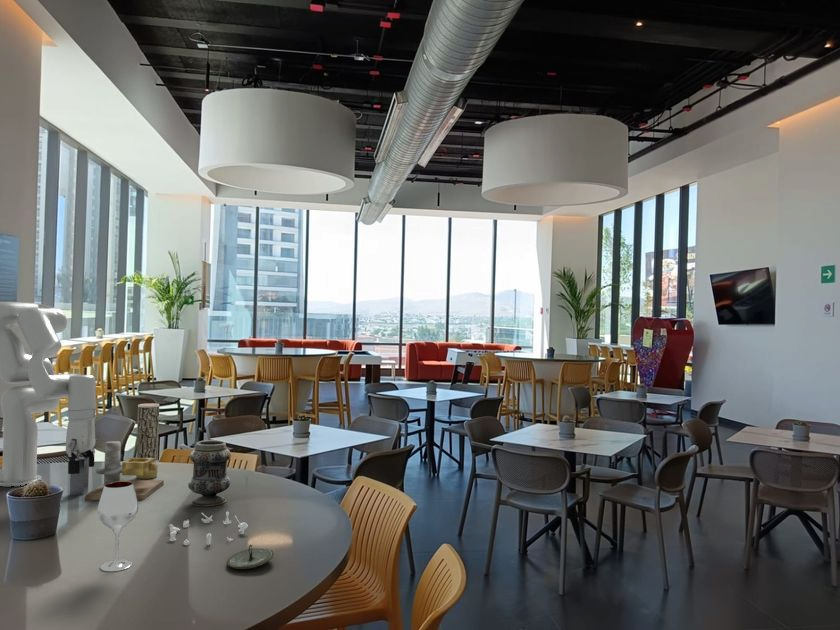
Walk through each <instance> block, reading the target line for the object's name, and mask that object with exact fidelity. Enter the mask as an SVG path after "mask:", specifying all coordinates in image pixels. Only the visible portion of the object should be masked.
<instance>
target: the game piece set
mask: <svg viewBox="0 0 840 630" xmlns="http://www.w3.org/2000/svg"><path fill="white" fill-rule="evenodd" d="M201 515H202V516H203V517H205V518H202V517H201V521H202V523H204V524H209V523H210V522H213V519H212V517H213V514H212V515H211V516H209V517H208V516H207V515H205V514H204V513H203V512H201ZM229 515H230V512H229V511H228V510H227V511H226V512H225V516H226V517H225V520H222V522H223V523H222V524H224V525H230V524H232V520H230V519H229ZM234 518H236V521H237V522H238V523H239V524H238V525H237V528H238V532H239V533H240V535H244V534H245V530H246V529H248V526H249V525H248V523H246V522H240V521H239V519H238V517H237V515H234ZM168 527H169V531H170V533H169V535H170V538H169V541H170V542H175V541H177V538H176V536H177V532H179V531H181V528H179V527H177V526H174V525H173V523H171V524H168ZM189 527H190V520H189V519H187V520H183V523H182V528H189ZM239 528H240V529H239ZM205 538H206V545H207V546H211V544H212V534H211V533H207V534H206V537H205ZM226 539H227V542H229V543H230V542H232V541H234V539H233V538H229V537H228V536H227V537H226ZM183 545H184V546H189V545H190V541H189V540H188V537H186V539H185V540H184V541H183Z"/></svg>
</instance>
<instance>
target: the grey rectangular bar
mask: <svg viewBox="0 0 840 630" xmlns="http://www.w3.org/2000/svg"><path fill="white" fill-rule="evenodd" d="M79 460H80V473H79V474H70V476H69V477H70V479H69V480H70V481H69V482H70V483H69V495H70V496H84V495H86V494H88V493H89V473H90V472H89V471H90V467H89V457H83V456H80V457H79ZM87 492H88V493H87Z"/></svg>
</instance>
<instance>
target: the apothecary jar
mask: <svg viewBox="0 0 840 630" xmlns="http://www.w3.org/2000/svg"><path fill="white" fill-rule="evenodd" d="M231 456H232V453H231V451H230V450H229V449H228V447H227V444H226V441H223V440H215V439H214V440H213V439H212V440H210V439H209V440H208V439H207V440H201V441H198V442H196V444H195V448H194V449H193V450H191V452H190V454H189V460H190V461H191V462H193V472H192V477H191V478H190V479H189V481H188V483H187V487H188V489H189V490H191V491H192V493H195V494H199V495H201V496H198V497H197V498H195V499H193V501H191V505H192V506H196V507H204V508H205V507H206V508H207V507H214V506H215V507H216V506H220V505H223V504H225V503H226V502H227V499H226V497H224V496H221V495H218V494H220V493H222V492H224V491H226V490H227V489H228V488H230V486H231V479H230V477H229V476H228V474H227V467H228V466H227V465H228V464H227V463H228V461H229V460H230V459H231Z"/></svg>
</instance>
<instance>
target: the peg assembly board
mask: <svg viewBox="0 0 840 630" xmlns="http://www.w3.org/2000/svg"><path fill="white" fill-rule="evenodd" d="M121 446H122V445H121V441H119V440H114V441H113V440H112V441H106V442H105V444H104V447H105V448H104V465H101V466H98V467H97V468H95V471H96V472H95V473H96V474H98V475H103V477H104V478H103V484H101V485H99V486H98V487H96V488H95V489H93V490H91V491H90V492H89V491H88V493H86V494H84V495H85V496H84V497H85V499H84V500H85V501H87V500H89V501H91V500H92V501H94V500H95V501H97V500H98V501H100V498H101V495H102V492H103V488H104V485H106V484H108V483H112V482H119V481H127V482H132V483H133V486H134V489H135V493H136V497H137V501H144V500H146V499H147V498H148V497H149V496H151V495H152V494H153V493H154V492H155V493H156V491H157V490H159V489H160V488H161V487H163V486H164V483H165V481H164V480H161V479H121V476H136V475H144V476H146V475H148V474H149V473H151V472H152V471H155V470H156V467H157V464H156V463H154V458H136V457H129V458H128V459H126V460H124V461H123V462H122V461H121V450H122V449H121ZM120 475H121V476H120ZM162 485H163V486H162Z"/></svg>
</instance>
